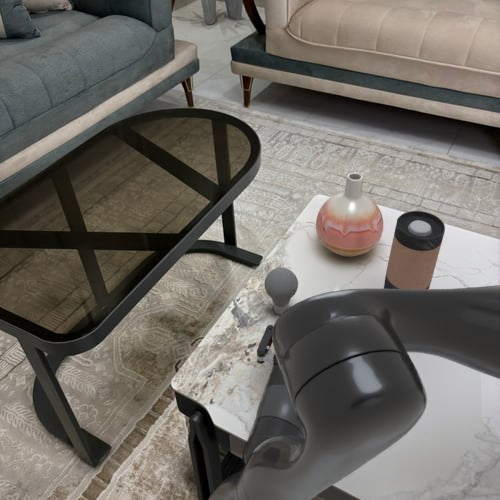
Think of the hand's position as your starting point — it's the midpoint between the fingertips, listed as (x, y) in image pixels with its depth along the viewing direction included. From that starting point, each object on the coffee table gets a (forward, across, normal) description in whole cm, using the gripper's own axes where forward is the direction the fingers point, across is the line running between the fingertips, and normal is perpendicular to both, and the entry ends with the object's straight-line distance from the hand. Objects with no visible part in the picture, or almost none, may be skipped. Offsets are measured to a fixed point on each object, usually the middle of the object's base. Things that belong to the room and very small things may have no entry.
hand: (316, 319), depth 81 cm
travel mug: (+14, -13, +8) cm, 21 cm away
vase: (+29, 0, +8) cm, 30 cm away
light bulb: (+7, +8, +8) cm, 13 cm away
